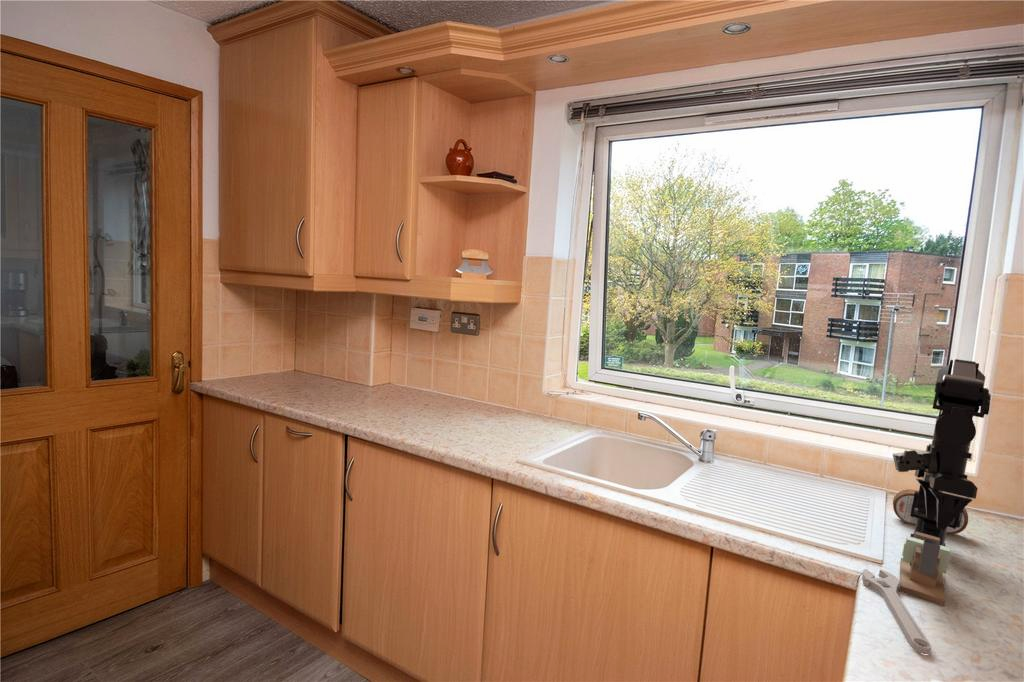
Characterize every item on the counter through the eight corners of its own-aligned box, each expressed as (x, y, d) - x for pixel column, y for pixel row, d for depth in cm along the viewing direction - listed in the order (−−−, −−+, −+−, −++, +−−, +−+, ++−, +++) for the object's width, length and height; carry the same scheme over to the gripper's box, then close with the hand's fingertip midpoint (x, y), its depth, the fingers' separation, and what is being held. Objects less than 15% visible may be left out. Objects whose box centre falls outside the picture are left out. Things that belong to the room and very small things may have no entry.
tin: (964, 535, 138) (971, 502, 136) (965, 540, 135) (972, 506, 134) (890, 515, 146) (896, 484, 145) (889, 520, 143) (895, 488, 142)
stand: (900, 563, 121) (907, 527, 120) (941, 575, 117) (948, 538, 116) (899, 591, 110) (906, 552, 108) (944, 606, 106) (952, 565, 105)
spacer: (901, 556, 117) (905, 535, 116) (946, 570, 113) (950, 548, 112) (901, 560, 115) (905, 538, 115) (946, 574, 111) (951, 552, 111)
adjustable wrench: (933, 659, 91) (935, 649, 90) (886, 646, 93) (888, 636, 93) (894, 580, 114) (895, 572, 114) (857, 572, 116) (858, 564, 116)
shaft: (917, 549, 117) (923, 522, 116) (932, 554, 115) (938, 526, 114) (918, 571, 108) (924, 541, 107) (934, 576, 106) (940, 546, 105)
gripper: (893, 430, 121) (879, 502, 121) (909, 436, 104) (892, 520, 104) (958, 443, 116) (943, 519, 116) (985, 452, 99) (968, 540, 99)
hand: (935, 523), depth 109 cm, fingers open, 9 cm apart
